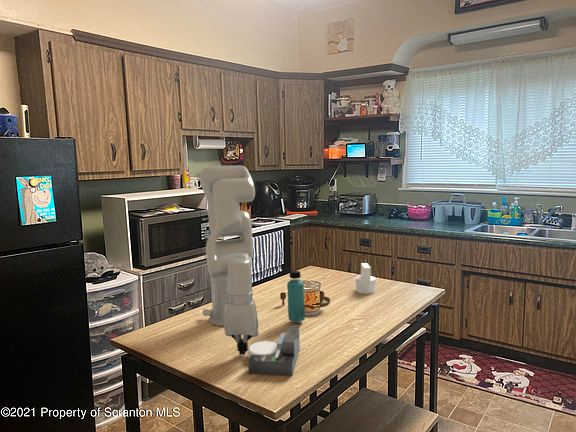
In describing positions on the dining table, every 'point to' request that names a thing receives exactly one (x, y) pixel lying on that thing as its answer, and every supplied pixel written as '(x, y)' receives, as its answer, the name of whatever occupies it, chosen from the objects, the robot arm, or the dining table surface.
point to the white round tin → (263, 348)
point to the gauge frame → (280, 364)
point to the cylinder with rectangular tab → (365, 280)
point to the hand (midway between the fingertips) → (242, 353)
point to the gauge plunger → (280, 345)
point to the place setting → (322, 297)
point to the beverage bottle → (296, 298)
